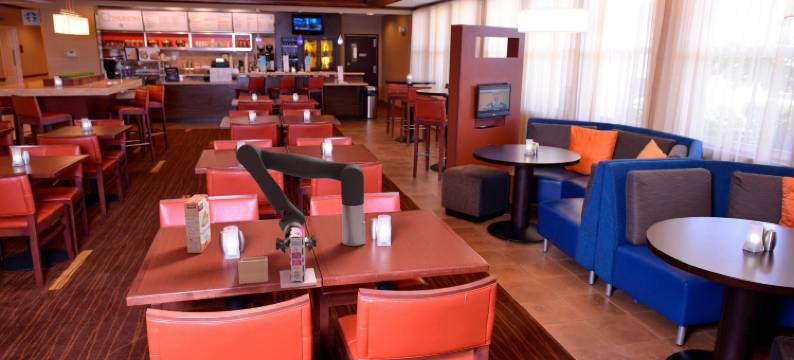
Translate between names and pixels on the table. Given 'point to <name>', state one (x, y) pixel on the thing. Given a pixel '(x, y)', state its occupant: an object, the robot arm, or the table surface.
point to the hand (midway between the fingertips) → (297, 249)
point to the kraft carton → (253, 270)
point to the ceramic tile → (287, 283)
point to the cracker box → (197, 223)
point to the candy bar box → (297, 254)
